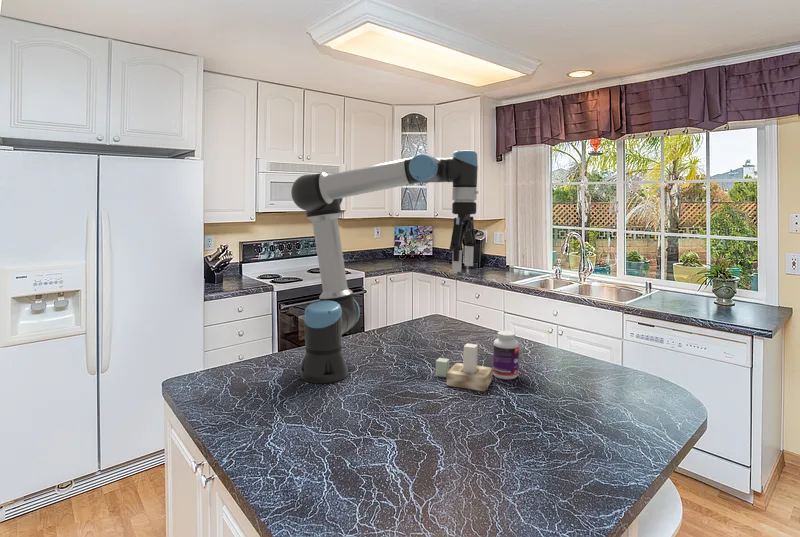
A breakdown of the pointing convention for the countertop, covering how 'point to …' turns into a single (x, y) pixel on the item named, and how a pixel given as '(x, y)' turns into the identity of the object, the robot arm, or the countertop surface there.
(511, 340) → the pill bottle
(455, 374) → the hole block
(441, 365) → the short peg
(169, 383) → the countertop surface
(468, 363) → the long peg
